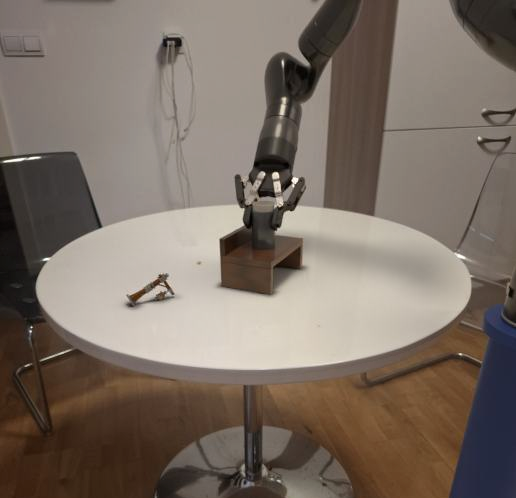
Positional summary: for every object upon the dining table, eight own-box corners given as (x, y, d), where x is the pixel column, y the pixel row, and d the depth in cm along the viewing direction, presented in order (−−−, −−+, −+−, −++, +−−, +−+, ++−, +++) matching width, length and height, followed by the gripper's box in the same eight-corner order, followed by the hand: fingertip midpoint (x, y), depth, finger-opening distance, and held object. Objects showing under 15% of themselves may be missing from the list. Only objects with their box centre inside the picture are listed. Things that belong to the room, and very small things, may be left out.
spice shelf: (302, 267, 100) (303, 223, 96) (270, 294, 88) (270, 245, 83) (257, 260, 104) (257, 218, 100) (221, 286, 91) (219, 238, 87)
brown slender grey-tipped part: (180, 292, 86) (167, 271, 83) (141, 317, 85) (127, 297, 82) (176, 289, 88) (164, 268, 85) (138, 313, 86) (125, 293, 84)
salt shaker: (278, 244, 94) (279, 201, 90) (269, 250, 90) (269, 206, 86) (258, 241, 95) (257, 199, 92) (248, 247, 92) (247, 204, 88)
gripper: (236, 134, 92) (218, 214, 87) (312, 135, 89) (297, 219, 84) (245, 159, 99) (228, 235, 94) (315, 162, 96) (301, 240, 91)
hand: (261, 227), depth 89 cm, fingers closed on salt shaker, 4 cm apart
